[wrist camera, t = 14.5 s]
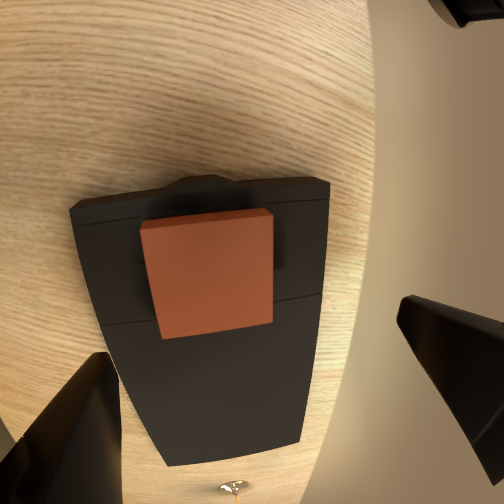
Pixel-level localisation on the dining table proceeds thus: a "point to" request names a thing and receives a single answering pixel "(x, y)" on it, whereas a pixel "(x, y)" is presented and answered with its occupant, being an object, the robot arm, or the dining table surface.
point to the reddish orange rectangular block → (210, 271)
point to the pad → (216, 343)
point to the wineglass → (234, 488)
